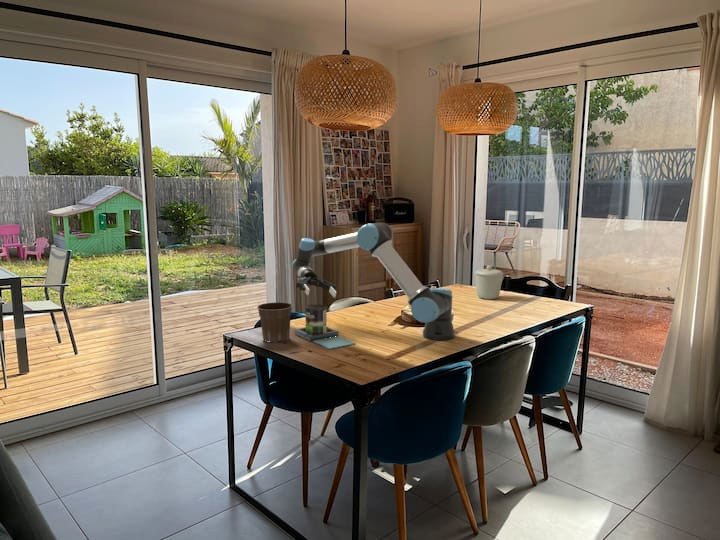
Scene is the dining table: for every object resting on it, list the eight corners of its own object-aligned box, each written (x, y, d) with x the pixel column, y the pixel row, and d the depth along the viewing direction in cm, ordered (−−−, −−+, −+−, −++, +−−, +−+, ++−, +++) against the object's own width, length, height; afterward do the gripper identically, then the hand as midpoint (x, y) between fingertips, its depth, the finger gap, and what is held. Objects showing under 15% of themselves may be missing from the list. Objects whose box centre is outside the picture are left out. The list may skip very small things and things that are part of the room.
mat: (338, 337, 256) (338, 336, 256) (355, 344, 245) (355, 342, 245) (313, 342, 248) (313, 340, 248) (329, 349, 237) (329, 348, 237)
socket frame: (321, 329, 270) (321, 324, 269) (338, 336, 257) (338, 331, 257) (294, 334, 261) (294, 329, 261) (310, 341, 249) (310, 336, 248)
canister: (473, 294, 355) (474, 263, 352) (501, 295, 352) (502, 263, 349) (474, 300, 338) (475, 267, 334) (503, 301, 335) (505, 267, 331)
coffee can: (315, 339, 252) (314, 310, 250) (301, 335, 259) (300, 306, 257) (331, 335, 259) (331, 306, 257) (317, 331, 266) (317, 303, 264)
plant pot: (253, 343, 246) (252, 309, 243) (264, 334, 262) (263, 301, 259) (288, 345, 244) (287, 310, 241) (297, 335, 259) (296, 302, 257)
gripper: (328, 285, 274) (344, 302, 257) (281, 280, 263) (294, 298, 245) (332, 271, 272) (348, 288, 254) (285, 266, 260) (298, 283, 243)
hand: (322, 293), depth 250 cm, fingers open, 13 cm apart
